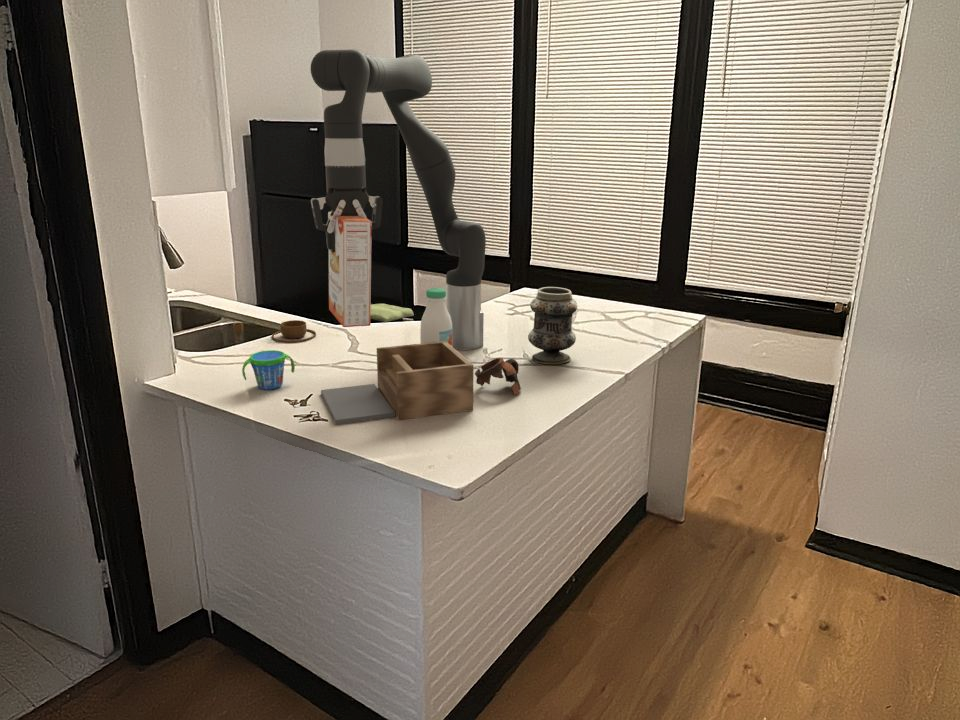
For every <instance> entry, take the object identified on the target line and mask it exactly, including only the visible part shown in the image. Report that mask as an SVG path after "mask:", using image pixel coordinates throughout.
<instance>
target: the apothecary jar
mask: <svg viewBox="0 0 960 720" xmlns="http://www.w3.org/2000/svg"><path fill="white" fill-rule="evenodd" d="M572 294H573V293H572V291H571V290H570V289H568V288H566V287H565V288H564V287H558V286H545V287H539V288H538V289H537V293H536V296H535V297H533V298H532V299H531V301H530V305H529V306H530V309H531V310H532V311H533V313H534V318H533V319H534V320H533V327H532V329H530V331H529V333H528V335H527V336H528V337H527V339H528V342H529V343H530V344H531V345H532V346H533V347H534V348H537V349H539V350H542V351H539V352H536V353H534V354H533V355H532V356H531V359H532V360H533V361H534V362H536V363H539V364H542V365H554V366H555V365H563V364H567V363H569V362H570V361H571V356H570V355H569V354H567V353H565V352H563V351H564V350H567V349H570V348H572V346H574V344H575V343H576V340H577V337H576V334H575V333H574V331H573V329H572V327H573V324H572V323H573V314H574V313H576V312H577V310H578V302H577V301H576V299H574V298H573V295H572Z"/></svg>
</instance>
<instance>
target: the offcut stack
mask: <svg viewBox="0 0 960 720" xmlns="http://www.w3.org/2000/svg"><path fill="white" fill-rule="evenodd" d="M409 370H412V368H411V367H410V366H409V365H408V364H407V363H406V362H405V361H404V360H403V359H402V358H401V356H400V355H392V368H390V369H386V374H387V375H388V376H389V378H390V379H391V380H392V382H393V383H394V384H395V385H396V387H397V379H396V372H400V371H409Z"/></svg>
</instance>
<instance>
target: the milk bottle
mask: <svg viewBox="0 0 960 720" xmlns="http://www.w3.org/2000/svg"><path fill="white" fill-rule="evenodd" d="M425 294H426V300H427V303H426V307H425V310H424V312H423V313H422V314H423V315H422V317H421V321H420V330H419V331H420V333H419V335H420V344H422V343H432V342H442V341H446V342H447V343H448V344H450V345H451V346H452V347H453V331H452V320H451V317H450V315H449V312H448V310H447V308H446V288H445V289H444V288H442V287H441V288H440V287H432V288H427V289H426V293H425Z"/></svg>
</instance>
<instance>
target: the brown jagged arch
mask: <svg viewBox="0 0 960 720" xmlns="http://www.w3.org/2000/svg"><path fill="white" fill-rule="evenodd" d="M518 373H519V363H518V361H517V360H516V359H514V358H508V359H507V360H504V358H503V357H496V358H493V359H491V360H488V362H486V363H484V364H482V365H481V366H480V368H478V369H477V370H475V372H474V375H475V376H476V381H475V382H476V384H477V385H479V386H481V387H484V385H485V384H487V385H491V378H492V377H493V378H498V379H503V378H504V377H505V381H506V382H508V383H513V384H512V385H511V386H510V389H511V390H512V394H513V396H515V395H517V394H518V393H519V392H520V391H521V389H522V388H521V384H520V382H519V378H518Z"/></svg>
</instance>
